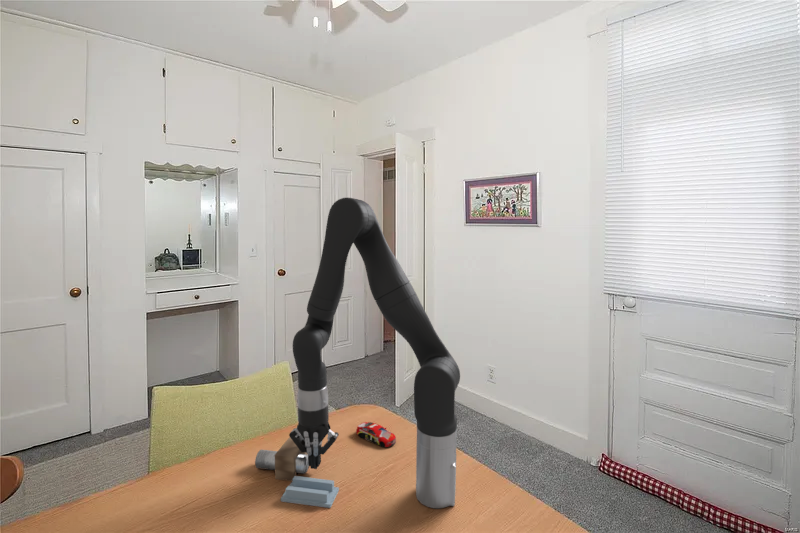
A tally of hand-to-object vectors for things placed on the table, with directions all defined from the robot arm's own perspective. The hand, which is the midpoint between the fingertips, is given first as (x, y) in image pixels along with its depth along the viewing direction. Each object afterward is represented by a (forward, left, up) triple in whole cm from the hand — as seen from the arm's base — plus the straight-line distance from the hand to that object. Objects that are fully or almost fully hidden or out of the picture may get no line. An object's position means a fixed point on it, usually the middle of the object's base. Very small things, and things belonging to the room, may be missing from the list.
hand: (314, 466), depth 105 cm
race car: (-12, -19, -2) cm, 22 cm away
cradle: (-2, +9, -2) cm, 9 cm away
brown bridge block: (+6, 0, -2) cm, 6 cm away
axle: (+9, 0, -2) cm, 9 cm away
